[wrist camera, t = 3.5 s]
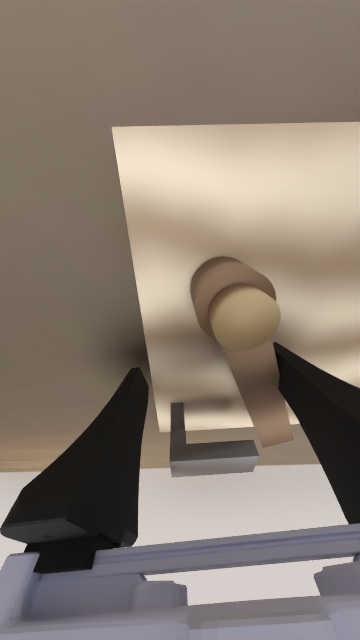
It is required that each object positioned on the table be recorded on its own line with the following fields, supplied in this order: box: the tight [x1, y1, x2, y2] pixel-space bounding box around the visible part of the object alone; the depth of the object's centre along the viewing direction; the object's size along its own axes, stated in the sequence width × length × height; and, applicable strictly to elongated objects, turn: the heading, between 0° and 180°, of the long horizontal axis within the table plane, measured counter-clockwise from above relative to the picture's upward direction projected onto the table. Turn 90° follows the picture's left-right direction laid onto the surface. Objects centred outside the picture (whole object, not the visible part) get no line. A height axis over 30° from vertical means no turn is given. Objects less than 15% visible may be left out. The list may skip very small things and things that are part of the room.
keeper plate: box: [112, 122, 360, 477], centre depth 11 cm, size 23×20×6 cm
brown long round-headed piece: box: [190, 256, 294, 448], centre depth 12 cm, size 15×4×3 cm, turn 24°
